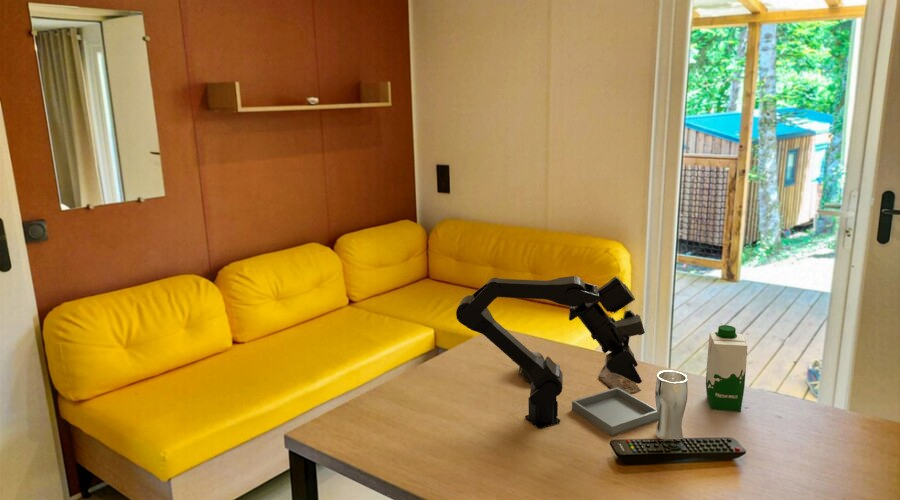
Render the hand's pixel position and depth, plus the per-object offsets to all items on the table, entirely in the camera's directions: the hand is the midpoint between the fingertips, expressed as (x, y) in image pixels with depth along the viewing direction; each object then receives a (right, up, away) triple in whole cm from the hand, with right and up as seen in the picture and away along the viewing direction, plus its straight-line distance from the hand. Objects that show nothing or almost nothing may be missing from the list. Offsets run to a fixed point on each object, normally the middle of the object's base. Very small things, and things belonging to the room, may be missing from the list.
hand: (638, 374), depth 149 cm
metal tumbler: (+7, -14, -2) cm, 16 cm away
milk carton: (+25, -10, +12) cm, 30 cm away
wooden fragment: (+3, -7, +31) cm, 32 cm away
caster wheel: (-20, -7, +32) cm, 38 cm away
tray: (-3, -12, +9) cm, 15 cm away
